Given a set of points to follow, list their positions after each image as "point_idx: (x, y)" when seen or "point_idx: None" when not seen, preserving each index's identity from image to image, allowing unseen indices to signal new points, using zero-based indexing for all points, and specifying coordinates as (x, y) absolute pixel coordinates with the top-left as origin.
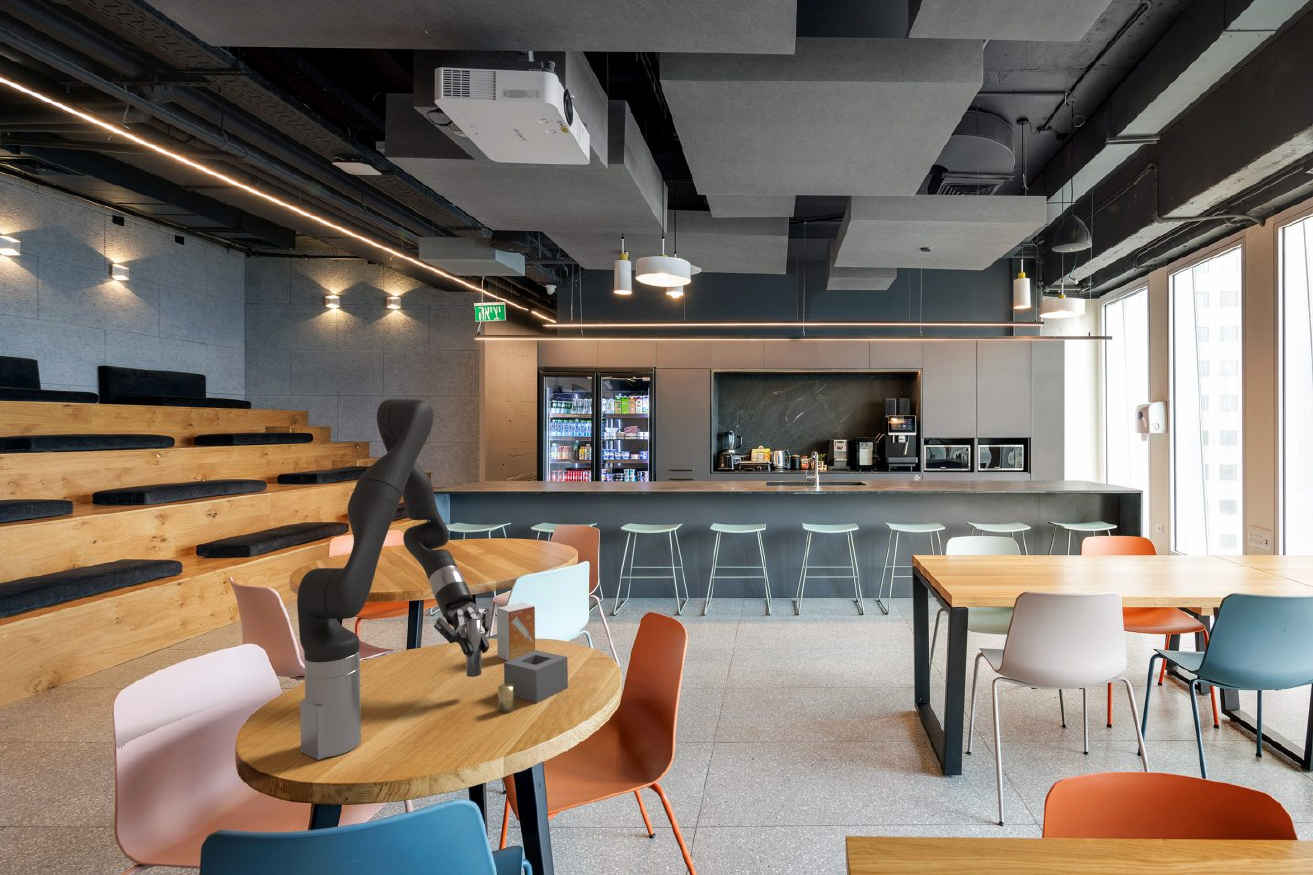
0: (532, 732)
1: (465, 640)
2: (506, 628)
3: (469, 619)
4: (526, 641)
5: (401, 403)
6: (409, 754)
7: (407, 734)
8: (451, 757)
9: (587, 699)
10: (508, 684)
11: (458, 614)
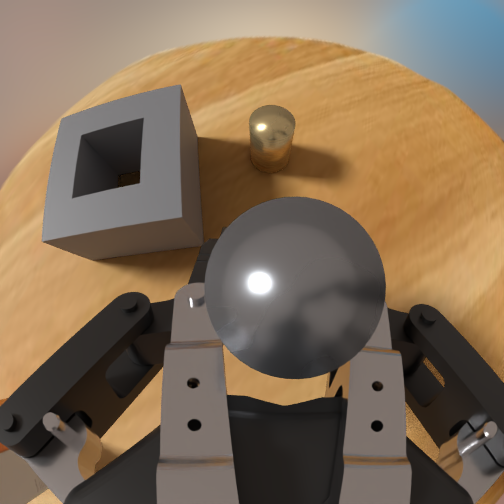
0: (295, 61)
1: None
2: (12, 462)
3: (306, 362)
4: None
5: None
6: (472, 161)
7: (464, 231)
8: (427, 103)
9: (132, 90)
10: (257, 127)
11: (404, 473)
